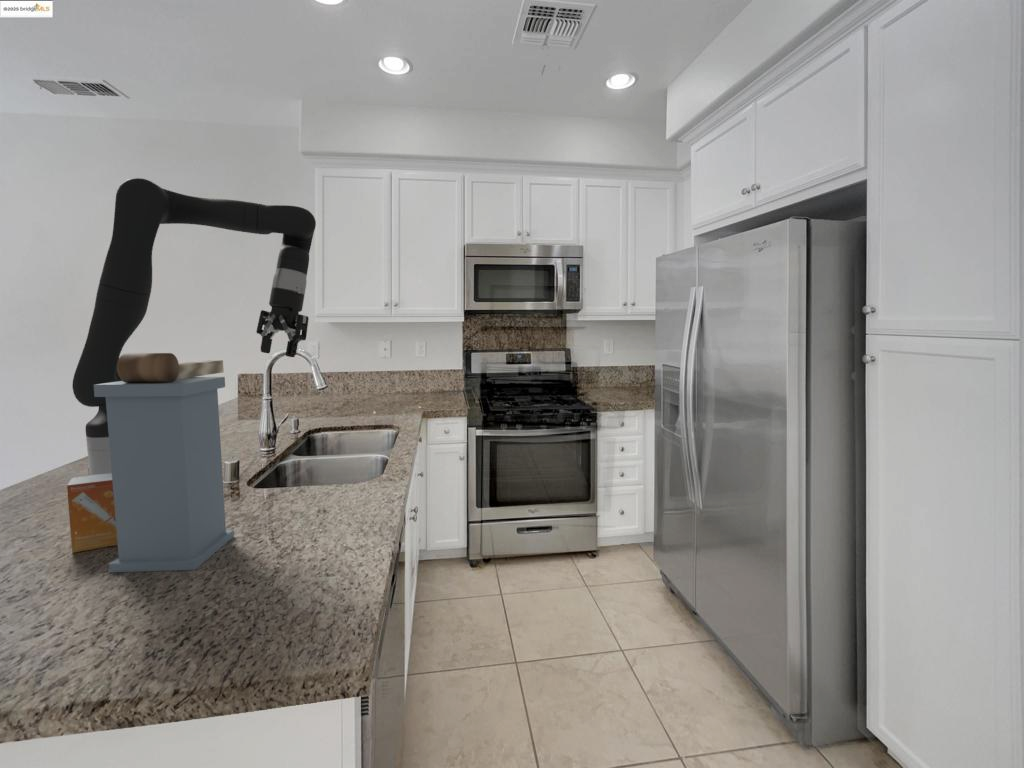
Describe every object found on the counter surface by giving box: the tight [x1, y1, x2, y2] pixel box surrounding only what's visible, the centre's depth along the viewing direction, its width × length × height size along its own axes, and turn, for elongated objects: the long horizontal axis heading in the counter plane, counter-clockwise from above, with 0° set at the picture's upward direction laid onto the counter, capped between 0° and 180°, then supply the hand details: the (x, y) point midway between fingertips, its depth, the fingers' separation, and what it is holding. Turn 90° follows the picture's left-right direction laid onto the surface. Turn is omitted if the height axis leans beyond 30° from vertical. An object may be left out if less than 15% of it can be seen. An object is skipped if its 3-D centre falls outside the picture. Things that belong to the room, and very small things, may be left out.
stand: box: [94, 376, 235, 573], centre depth 92 cm, size 14×14×32 cm
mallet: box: [117, 352, 225, 383], centre depth 96 cm, size 25×7×5 cm, turn 4°
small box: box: [66, 473, 118, 554], centre depth 98 cm, size 8×6×13 cm
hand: (277, 354), depth 125 cm, fingers open, 8 cm apart
